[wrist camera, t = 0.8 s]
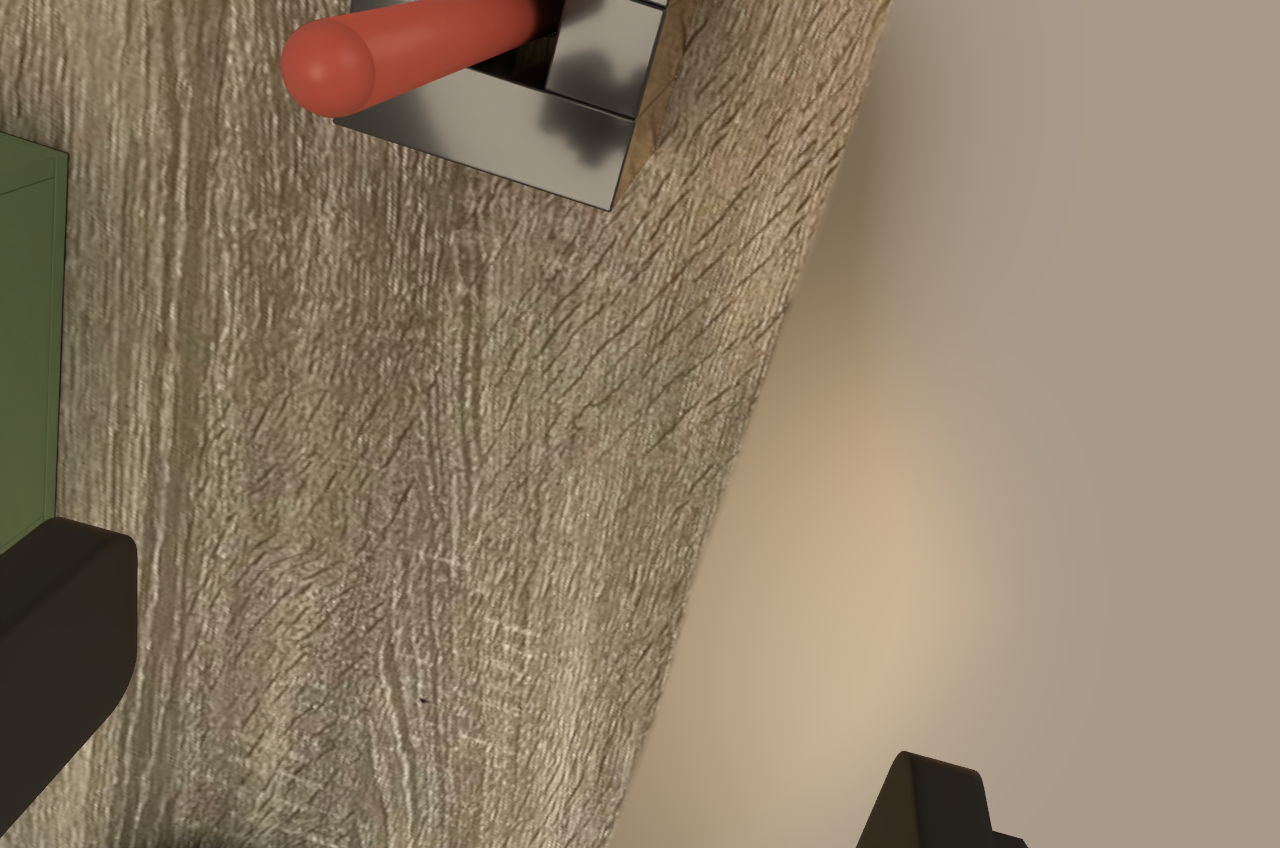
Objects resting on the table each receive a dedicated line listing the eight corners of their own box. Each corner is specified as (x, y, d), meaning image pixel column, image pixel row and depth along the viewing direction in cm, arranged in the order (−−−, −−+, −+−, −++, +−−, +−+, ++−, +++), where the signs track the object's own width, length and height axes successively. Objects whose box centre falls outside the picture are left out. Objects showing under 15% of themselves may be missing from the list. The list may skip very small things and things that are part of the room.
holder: (484, -173, 26) (379, -204, 20) (726, -96, 26) (698, -103, 20) (436, 80, 29) (331, 123, 23) (655, 150, 29) (610, 213, 23)
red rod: (557, -35, 27) (269, 9, 13) (602, -21, 27) (364, 40, 13) (546, 13, 28) (258, 107, 13) (590, 27, 28) (348, 137, 13)
